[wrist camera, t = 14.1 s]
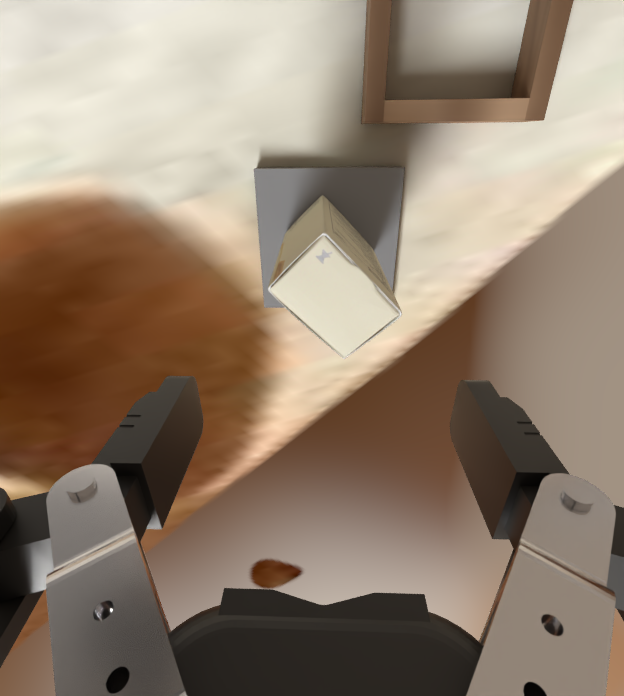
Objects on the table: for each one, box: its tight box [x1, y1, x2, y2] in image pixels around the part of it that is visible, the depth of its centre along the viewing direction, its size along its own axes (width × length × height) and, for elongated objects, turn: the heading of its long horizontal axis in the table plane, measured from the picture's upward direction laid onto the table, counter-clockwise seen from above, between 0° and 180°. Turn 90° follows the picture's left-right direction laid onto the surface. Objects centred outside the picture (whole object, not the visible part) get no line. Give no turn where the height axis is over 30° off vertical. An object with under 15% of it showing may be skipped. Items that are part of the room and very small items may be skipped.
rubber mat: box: [254, 167, 405, 308], centre depth 31 cm, size 11×11×1 cm
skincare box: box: [268, 195, 402, 359], centre depth 25 cm, size 6×4×12 cm
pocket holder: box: [361, 0, 573, 124], centre depth 23 cm, size 11×11×3 cm
